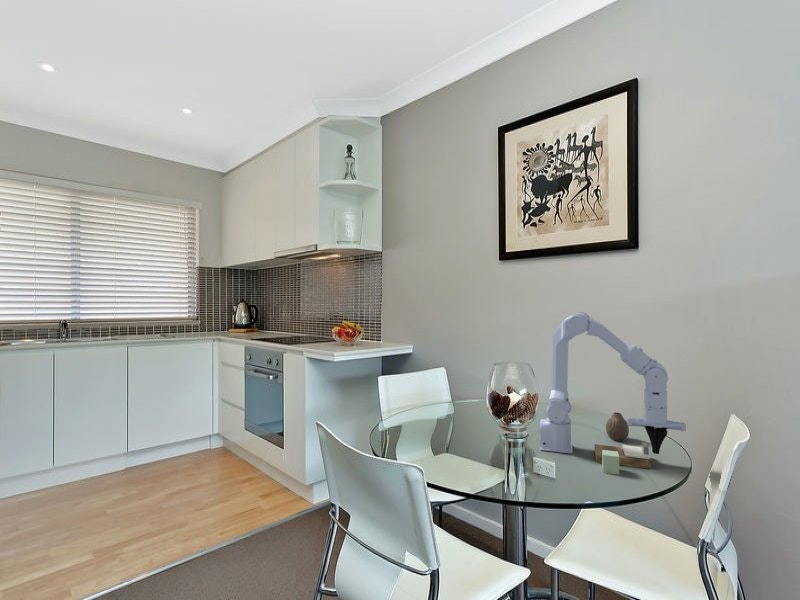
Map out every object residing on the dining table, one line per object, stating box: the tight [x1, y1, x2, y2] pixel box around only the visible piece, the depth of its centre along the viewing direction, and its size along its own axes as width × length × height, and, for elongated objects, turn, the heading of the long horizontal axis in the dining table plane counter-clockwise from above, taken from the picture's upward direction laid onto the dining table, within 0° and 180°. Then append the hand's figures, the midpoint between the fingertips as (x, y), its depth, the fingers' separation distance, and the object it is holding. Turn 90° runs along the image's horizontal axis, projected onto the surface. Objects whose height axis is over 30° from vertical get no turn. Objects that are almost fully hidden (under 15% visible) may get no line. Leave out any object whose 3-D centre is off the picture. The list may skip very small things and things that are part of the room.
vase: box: [605, 411, 630, 442], centre depth 147 cm, size 7×7×9 cm
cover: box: [621, 442, 651, 460], centre depth 128 cm, size 6×8×2 cm
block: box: [601, 450, 620, 475], centre depth 122 cm, size 4×4×5 cm
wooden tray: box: [594, 443, 652, 470], centre depth 130 cm, size 14×9×2 cm, turn 68°
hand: (655, 452), depth 126 cm, fingers closed
